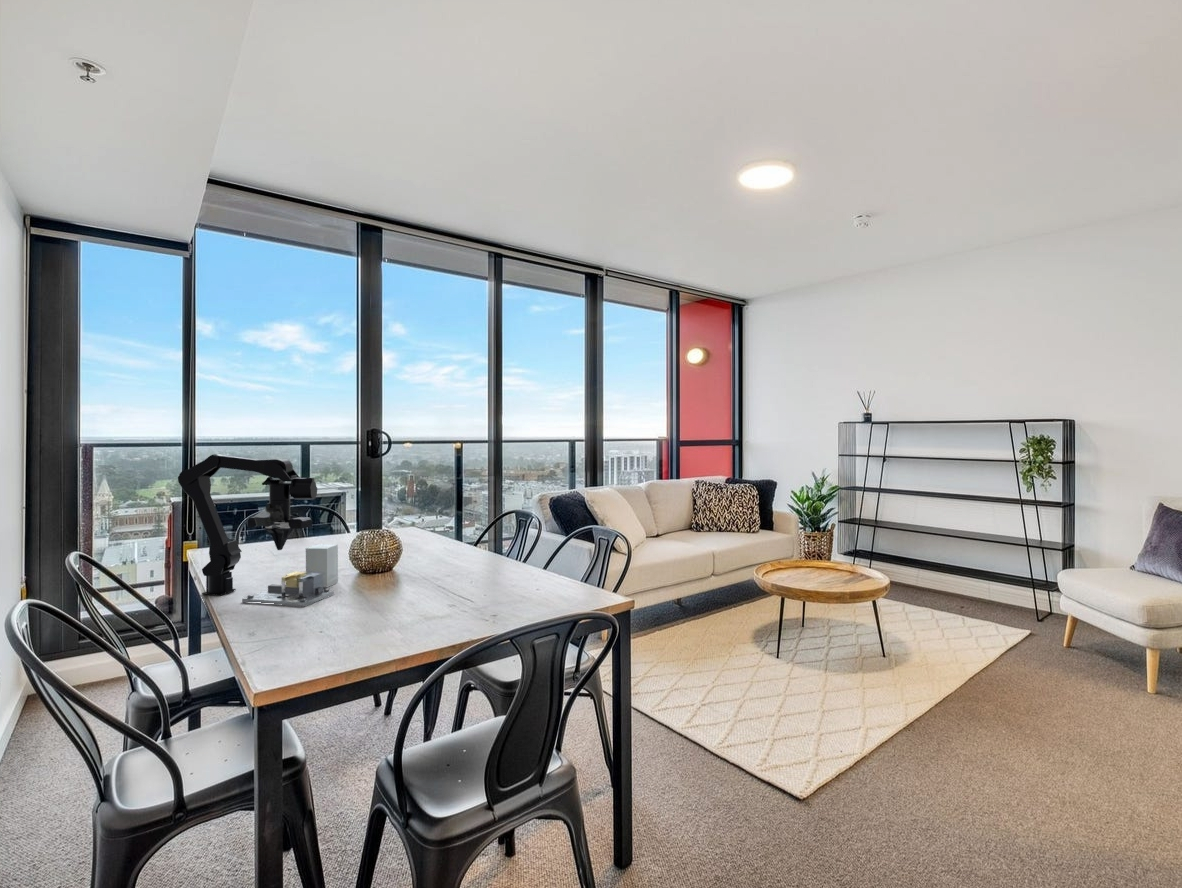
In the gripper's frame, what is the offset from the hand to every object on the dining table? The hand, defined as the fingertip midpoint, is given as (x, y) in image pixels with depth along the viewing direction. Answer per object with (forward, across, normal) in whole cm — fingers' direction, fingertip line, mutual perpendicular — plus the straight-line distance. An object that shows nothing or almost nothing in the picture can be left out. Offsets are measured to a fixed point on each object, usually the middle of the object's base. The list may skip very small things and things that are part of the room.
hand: (279, 549), depth 187 cm
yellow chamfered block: (+11, +8, -5) cm, 15 cm away
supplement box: (+13, +7, +11) cm, 19 cm away
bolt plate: (+13, +8, -6) cm, 16 cm away
